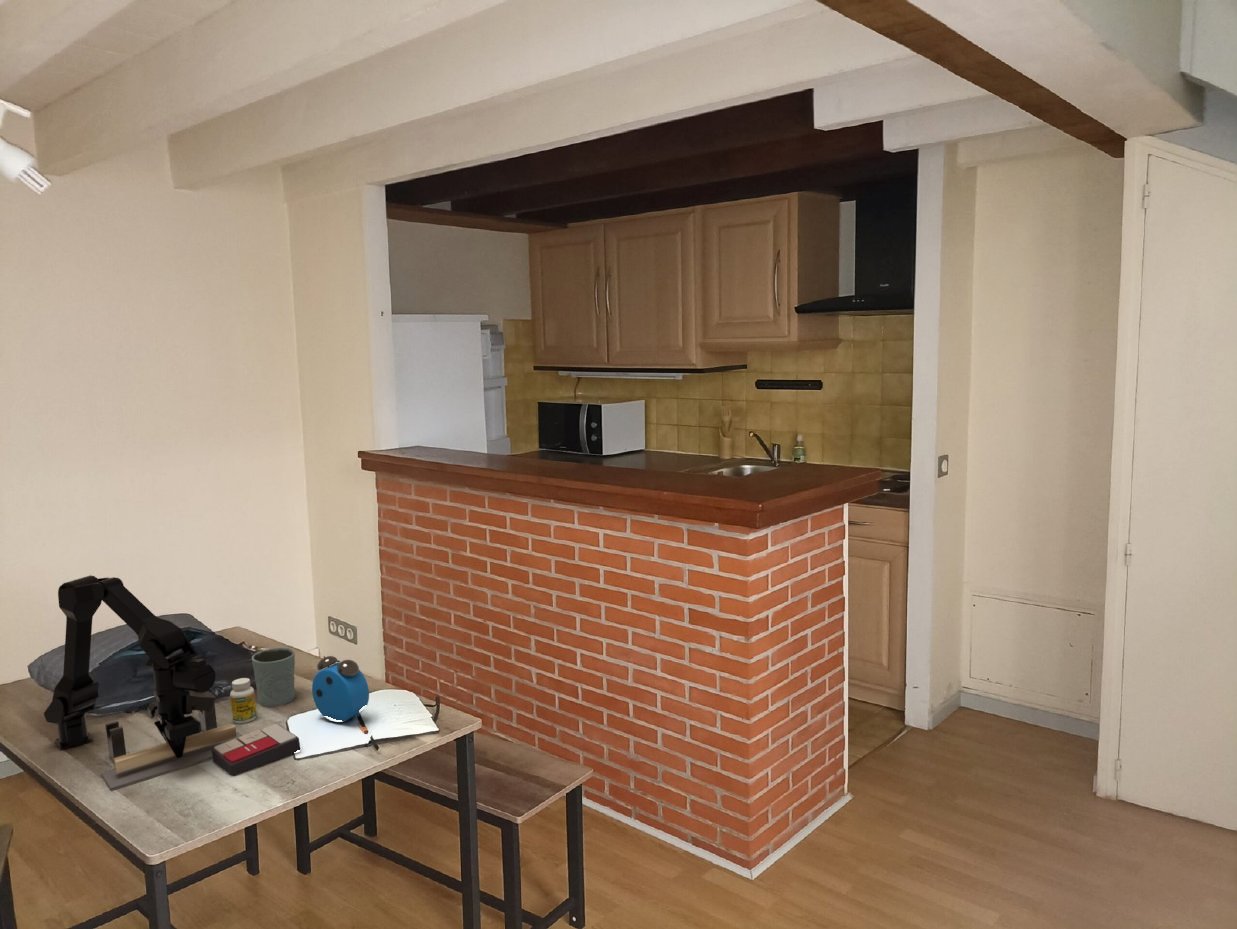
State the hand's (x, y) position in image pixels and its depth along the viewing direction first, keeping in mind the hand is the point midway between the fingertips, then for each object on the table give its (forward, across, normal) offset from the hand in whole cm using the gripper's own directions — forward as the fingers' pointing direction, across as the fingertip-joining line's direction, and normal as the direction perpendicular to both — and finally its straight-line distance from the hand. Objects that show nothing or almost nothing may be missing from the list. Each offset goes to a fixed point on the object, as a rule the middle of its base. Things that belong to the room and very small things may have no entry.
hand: (177, 755), depth 197 cm
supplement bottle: (+2, +12, -18) cm, 22 cm away
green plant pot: (+2, +18, -28) cm, 33 cm away
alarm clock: (+2, -5, -35) cm, 35 cm away
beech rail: (-1, 0, 0) cm, 1 cm away
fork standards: (+1, +11, 0) cm, 11 cm away
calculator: (+2, -10, -13) cm, 17 cm away
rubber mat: (+1, 0, 0) cm, 1 cm away
